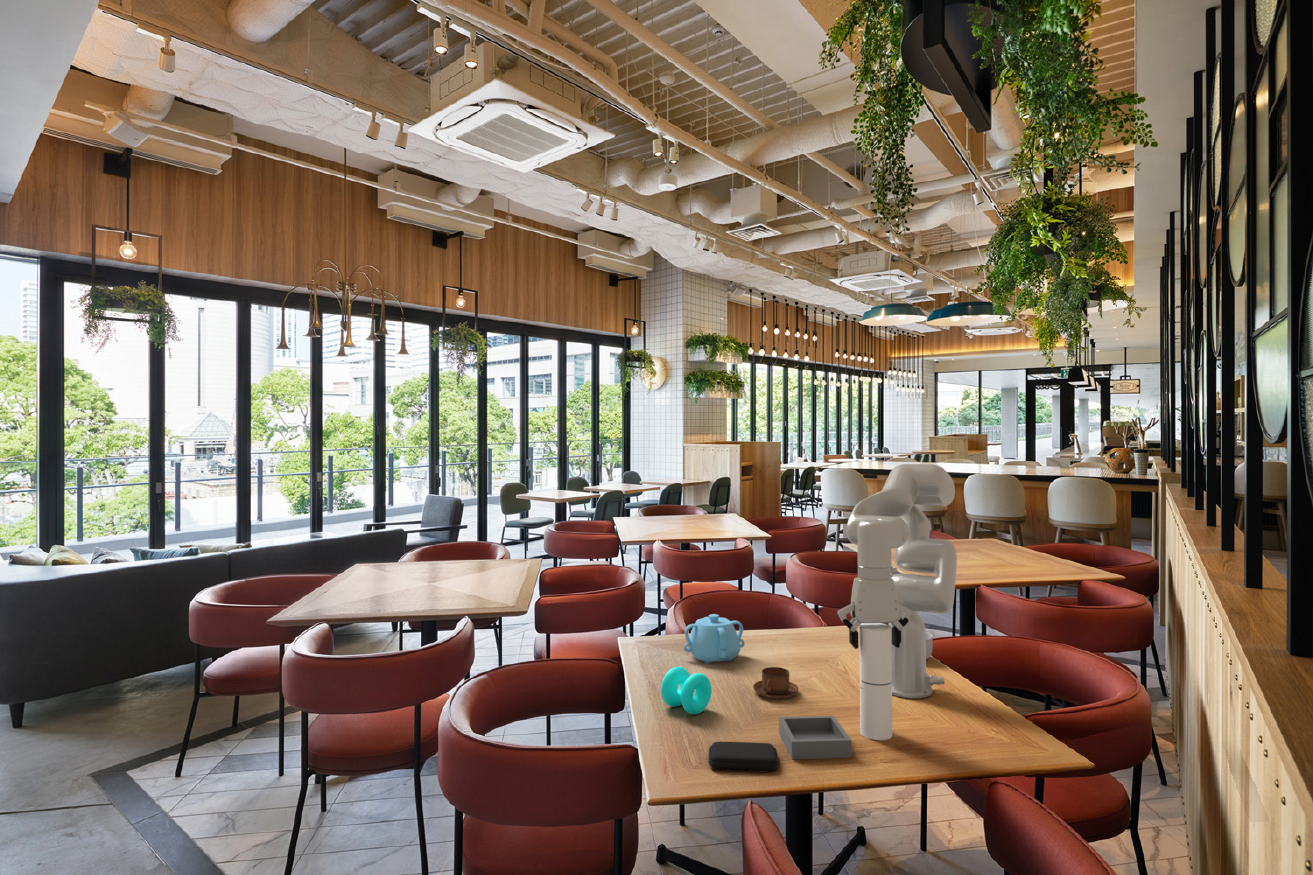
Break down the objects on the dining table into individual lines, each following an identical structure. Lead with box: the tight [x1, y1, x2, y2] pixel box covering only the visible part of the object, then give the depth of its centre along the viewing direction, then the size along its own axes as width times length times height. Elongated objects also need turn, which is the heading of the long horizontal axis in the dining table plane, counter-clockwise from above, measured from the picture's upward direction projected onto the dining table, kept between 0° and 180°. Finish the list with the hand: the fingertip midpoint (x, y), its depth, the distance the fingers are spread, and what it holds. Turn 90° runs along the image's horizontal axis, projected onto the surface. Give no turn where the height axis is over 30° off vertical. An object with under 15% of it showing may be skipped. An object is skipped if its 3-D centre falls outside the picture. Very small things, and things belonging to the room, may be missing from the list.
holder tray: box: [778, 715, 853, 760], centre depth 155 cm, size 13×13×4 cm
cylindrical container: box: [858, 623, 893, 741], centre depth 160 cm, size 7×7×25 cm
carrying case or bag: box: [708, 741, 780, 773], centre depth 148 cm, size 11×3×15 cm
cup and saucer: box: [752, 666, 799, 700], centre depth 186 cm, size 12×12×6 cm
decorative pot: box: [683, 613, 745, 664], centre depth 216 cm, size 16×16×14 cm
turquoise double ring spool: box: [660, 666, 712, 715], centre depth 176 cm, size 10×10×10 cm
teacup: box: [926, 630, 934, 660], centre depth 214 cm, size 14×11×8 cm
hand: (875, 646), depth 160 cm, fingers open, 9 cm apart
